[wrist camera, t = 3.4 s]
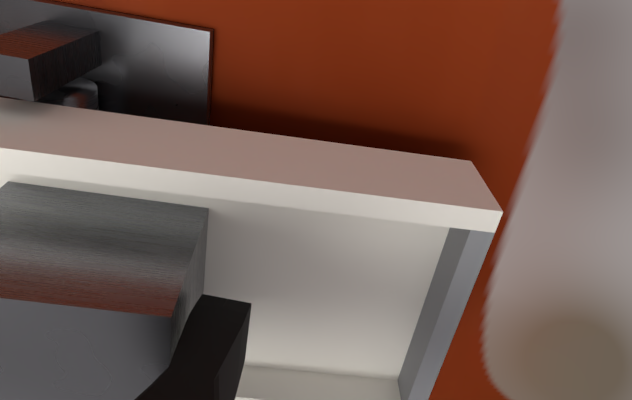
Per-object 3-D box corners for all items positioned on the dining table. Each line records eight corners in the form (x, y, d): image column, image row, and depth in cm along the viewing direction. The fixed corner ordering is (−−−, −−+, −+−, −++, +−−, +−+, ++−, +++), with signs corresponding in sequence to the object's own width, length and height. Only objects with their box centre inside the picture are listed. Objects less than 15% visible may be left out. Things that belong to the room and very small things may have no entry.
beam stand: (213, 29, 14) (166, 62, 11) (200, 330, 20) (167, 410, 17) (-58, -19, 14) (-187, -1, 11) (9, 295, 20) (-61, 367, 17)
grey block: (208, 208, 13) (171, 317, 9) (200, 339, 15) (167, 466, 12) (8, 180, 12) (-110, 285, 9) (31, 321, 15) (-55, 446, 11)
